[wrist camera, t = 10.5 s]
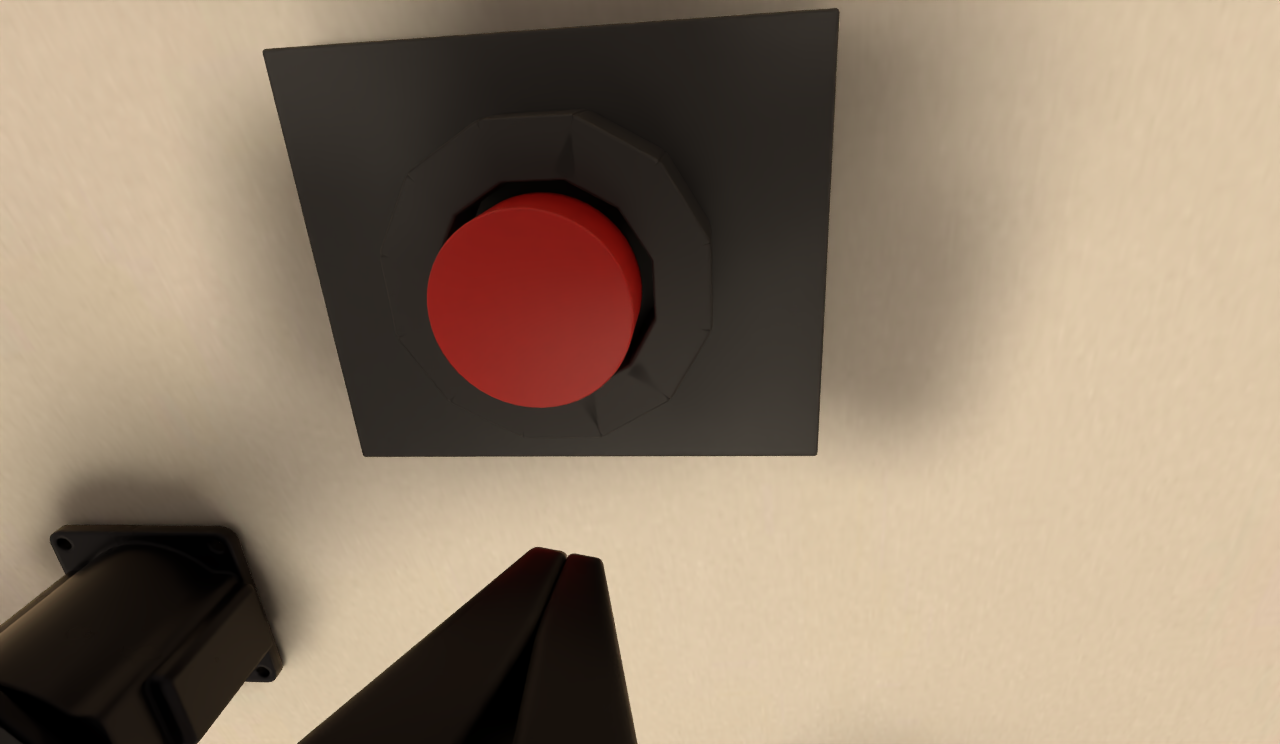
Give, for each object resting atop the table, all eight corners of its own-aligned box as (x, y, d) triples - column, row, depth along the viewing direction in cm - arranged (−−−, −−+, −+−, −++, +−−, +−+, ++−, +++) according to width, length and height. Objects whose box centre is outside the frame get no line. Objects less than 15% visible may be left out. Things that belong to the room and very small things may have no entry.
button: (472, 375, 16) (445, 409, 14) (442, 195, 14) (407, 211, 13) (647, 372, 15) (640, 407, 14) (636, 186, 14) (626, 202, 12)
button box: (396, 420, 21) (329, 495, 17) (314, 51, 17) (203, 46, 13) (806, 416, 19) (828, 497, 16) (823, 15, 15) (858, -2, 12)
